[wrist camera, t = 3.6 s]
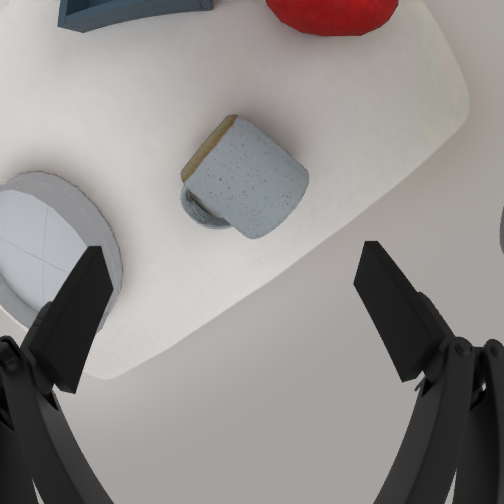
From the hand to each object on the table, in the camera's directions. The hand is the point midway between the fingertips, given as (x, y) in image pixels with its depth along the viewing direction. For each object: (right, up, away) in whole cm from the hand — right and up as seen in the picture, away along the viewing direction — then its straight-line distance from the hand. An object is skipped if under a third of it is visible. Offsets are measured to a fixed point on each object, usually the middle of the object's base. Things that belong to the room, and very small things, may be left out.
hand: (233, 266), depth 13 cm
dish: (-25, 0, +15) cm, 29 cm away
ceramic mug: (-1, +8, +13) cm, 15 cm away
